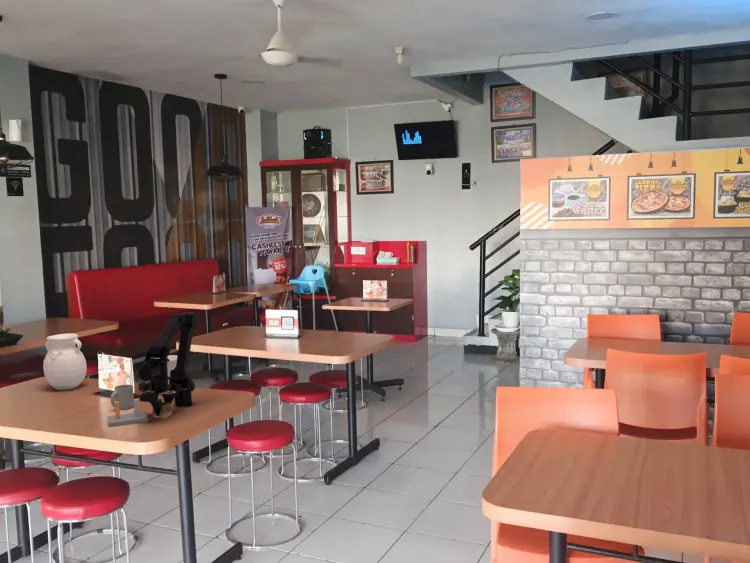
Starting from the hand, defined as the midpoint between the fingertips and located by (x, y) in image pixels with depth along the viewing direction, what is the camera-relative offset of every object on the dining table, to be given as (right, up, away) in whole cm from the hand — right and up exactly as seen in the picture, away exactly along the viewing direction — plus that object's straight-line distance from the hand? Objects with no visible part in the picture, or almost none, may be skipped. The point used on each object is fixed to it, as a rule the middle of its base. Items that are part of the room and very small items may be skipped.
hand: (162, 413), depth 260 cm
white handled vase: (-62, +2, +50) cm, 80 cm away
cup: (-21, -1, +13) cm, 24 cm away
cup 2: (-9, +2, +37) cm, 38 cm away
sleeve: (0, -1, 0) cm, 1 cm away
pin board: (-12, -2, -5) cm, 13 cm away
